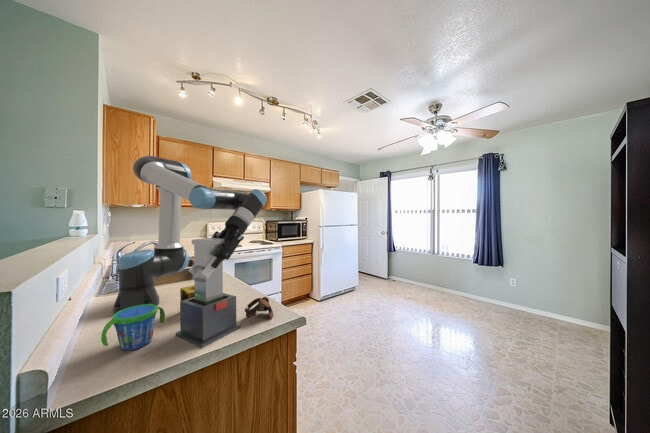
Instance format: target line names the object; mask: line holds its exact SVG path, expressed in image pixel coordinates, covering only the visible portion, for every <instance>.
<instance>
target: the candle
mask: <svg viewBox="0 0 650 433" xmlns="http://www.w3.org/2000/svg"><path fill="white" fill-rule="evenodd" d="M179 289H180V290H179V294H180V295H179V296H180V301H183V300H186V299H189V298H192V297H195V293H194V291H195V284H194V285H189V286H188V285H187V286H183V287H180V288H179Z"/></svg>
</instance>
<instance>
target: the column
mask: <svg viewBox="0 0 650 433" xmlns="http://www.w3.org/2000/svg"><path fill="white" fill-rule="evenodd" d="M222 243H225V239H221V238H212V237H208V238H197V239H195V238H194V239H191V245H193V252H194V256H193V258H194V262H193V265H194V273H195V276H194V278H193V281H194V285H195V291H194V293H195V298H194V303H197V304H200V305H203V306H206V305H208V304H211V303H214V302H217V301H219V300H222V299H223V293H224V292H223V290H224V289H223V286H224V285H223V280H224V279H223V270H224V268H223V261H221V263H220V264H219V265H218V267H217V268H216V269H215V270H214V271H213V273H212V274H211V275H210V277H209V278H206V277H205V276H203V275H202V274H201V273H202V271H203V270H204V269H205V268H206V266H207V265H208V264H209V262H210V261H211V260H212V259H213V257H214V256H216V255H215V254H218V252H219V251H220V249H221V248H222ZM216 257H217V256H216Z"/></svg>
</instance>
